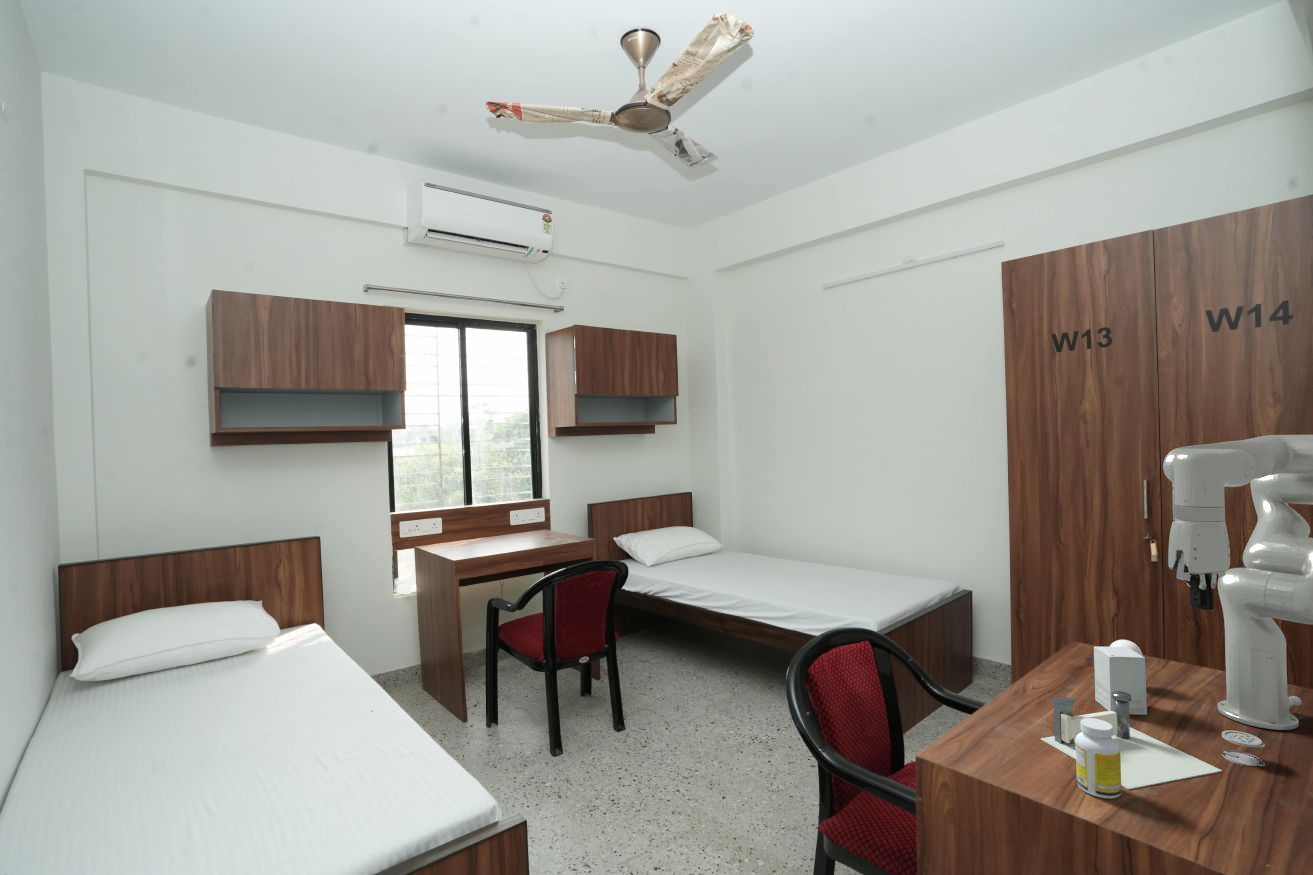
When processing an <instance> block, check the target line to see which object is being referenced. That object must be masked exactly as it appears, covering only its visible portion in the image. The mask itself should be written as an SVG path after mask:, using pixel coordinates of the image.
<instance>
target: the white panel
mask: <svg viewBox="0 0 1313 875" xmlns="http://www.w3.org/2000/svg"><path fill="white" fill-rule="evenodd" d="M1084 718H1094V719H1099V720H1103V721H1106V722H1108V723H1110V724H1111V725H1112V727H1113V735H1117V713H1116V712H1113V711H1108V710H1106V711H1100V712H1099V711H1098V712H1092V713H1085V714H1080V715H1073V716H1072V717H1071V716H1070V715H1068V714H1066V713H1064V714H1061V733H1062V740H1063V741H1065V743H1066V744H1068V745H1069V744H1073V743H1074V742H1075V738H1076V736H1077V735H1078V734H1079V733H1081V732H1083V731H1082V730H1081V720H1082V719H1084Z"/></svg>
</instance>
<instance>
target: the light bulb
mask: <svg viewBox="0 0 1313 875" xmlns="http://www.w3.org/2000/svg"><path fill="white" fill-rule="evenodd" d="M1109 647H1128V648H1130V649H1132V650H1133V651H1135V652H1136V653H1138V654H1140V655H1141V656H1143V652H1142V650H1141V648H1140V647H1139V646H1138V645H1137V644H1136V643H1135V642H1133V641H1131V640H1128V639H1118V640H1117V639H1116V640H1115V641H1113V642H1112V643H1111V644H1110V645H1109Z"/></svg>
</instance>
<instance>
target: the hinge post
mask: <svg viewBox="0 0 1313 875" xmlns="http://www.w3.org/2000/svg"><path fill="white" fill-rule="evenodd" d="M1112 698H1114V703H1115V712H1116V713H1117V735H1116V736H1117V737H1118V738H1121V739H1130V727H1131V724H1130V721H1131V720H1130V714H1129V701H1131V695H1130V694H1128V693H1126V692H1121V691H1113V692H1112Z"/></svg>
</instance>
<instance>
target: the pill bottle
mask: <svg viewBox="0 0 1313 875" xmlns="http://www.w3.org/2000/svg"><path fill="white" fill-rule="evenodd" d="M1081 730H1082V731H1083V732H1081V733H1079V734H1078V735H1077V736H1076V738H1075V748H1076V759H1075V763H1076V764H1075V765H1076V766H1075V767H1076V771H1075V772H1076V784H1077V786H1078V787H1079V788H1080V789H1081V790H1082V791H1084V792H1085V793H1087V794H1088V795H1091V796H1094V797H1098V798H1102V799H1116V798H1119V797H1120V796H1121V795H1122V786H1121V761H1120V746H1119V744H1118V743H1117V741H1115V740H1114V739H1113V738H1112V736H1113V727H1112V725H1111V724H1110V723H1108V722H1106V721H1103V720H1099V719H1094V718H1084V719H1082V720H1081Z"/></svg>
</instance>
